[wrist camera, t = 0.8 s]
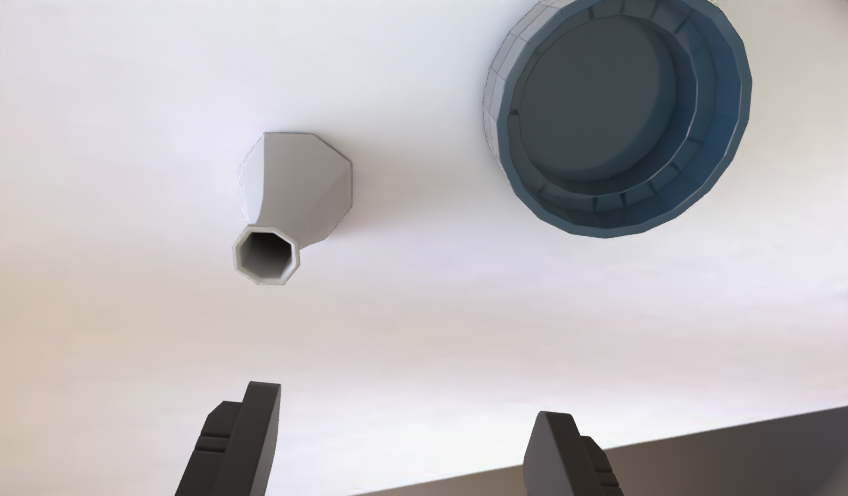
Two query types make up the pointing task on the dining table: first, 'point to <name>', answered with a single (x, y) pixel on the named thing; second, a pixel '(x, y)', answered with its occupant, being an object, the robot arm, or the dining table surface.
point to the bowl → (617, 110)
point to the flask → (288, 203)
